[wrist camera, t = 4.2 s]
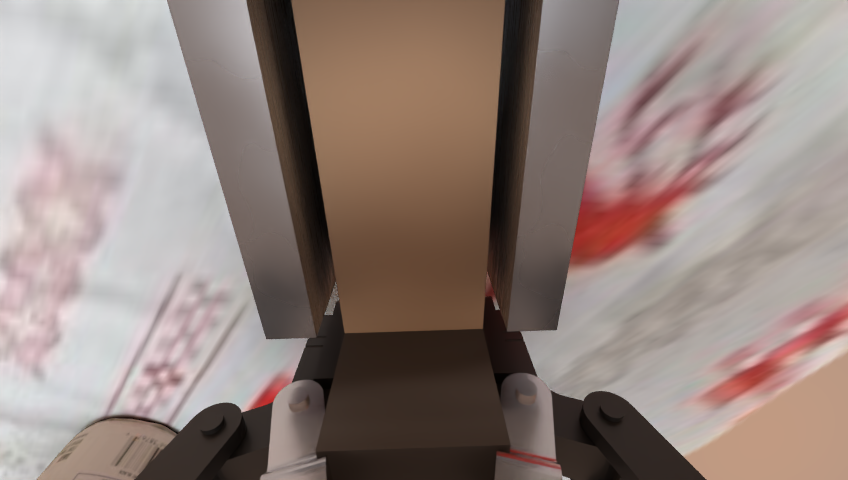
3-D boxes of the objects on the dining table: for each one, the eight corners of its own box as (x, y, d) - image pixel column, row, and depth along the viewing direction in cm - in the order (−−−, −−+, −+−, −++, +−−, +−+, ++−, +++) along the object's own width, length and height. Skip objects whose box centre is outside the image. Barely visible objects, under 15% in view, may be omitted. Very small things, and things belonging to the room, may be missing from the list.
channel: (252, -219, 9) (-210, -984, 2) (537, -224, 9) (881, -989, 2) (325, 224, 15) (249, 371, 8) (500, 219, 15) (571, 361, 8)
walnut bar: (307, -211, 8) (-129, -1255, 2) (482, -214, 8) (749, -1252, 2) (378, 395, 18) (355, 605, 11) (460, 392, 18) (488, 601, 11)
